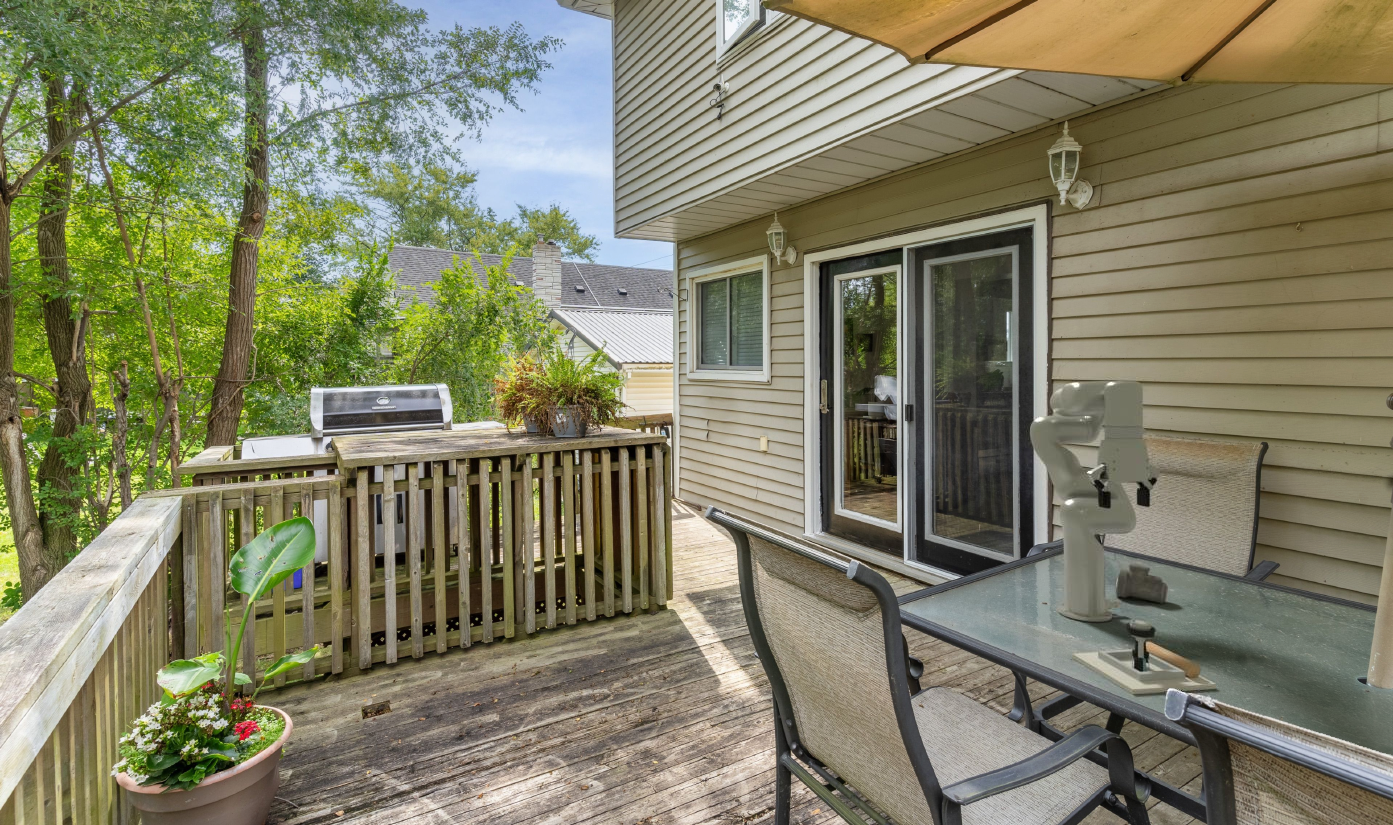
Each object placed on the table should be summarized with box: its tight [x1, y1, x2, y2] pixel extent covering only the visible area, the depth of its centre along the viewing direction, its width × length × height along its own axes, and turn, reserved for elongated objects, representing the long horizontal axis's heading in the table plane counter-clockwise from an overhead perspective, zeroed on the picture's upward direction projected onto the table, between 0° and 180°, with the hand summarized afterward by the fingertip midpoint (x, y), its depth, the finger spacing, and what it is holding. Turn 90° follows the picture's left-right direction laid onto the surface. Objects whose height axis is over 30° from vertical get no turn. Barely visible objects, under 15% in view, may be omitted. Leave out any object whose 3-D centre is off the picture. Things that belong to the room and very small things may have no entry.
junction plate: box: [1071, 641, 1217, 695], centre depth 138 cm, size 18×18×4 cm
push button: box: [1125, 619, 1157, 672], centre depth 138 cm, size 7×5×10 cm
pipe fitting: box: [1115, 562, 1169, 604], centre depth 185 cm, size 12×8×10 cm
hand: (1124, 506), depth 151 cm, fingers open, 9 cm apart
